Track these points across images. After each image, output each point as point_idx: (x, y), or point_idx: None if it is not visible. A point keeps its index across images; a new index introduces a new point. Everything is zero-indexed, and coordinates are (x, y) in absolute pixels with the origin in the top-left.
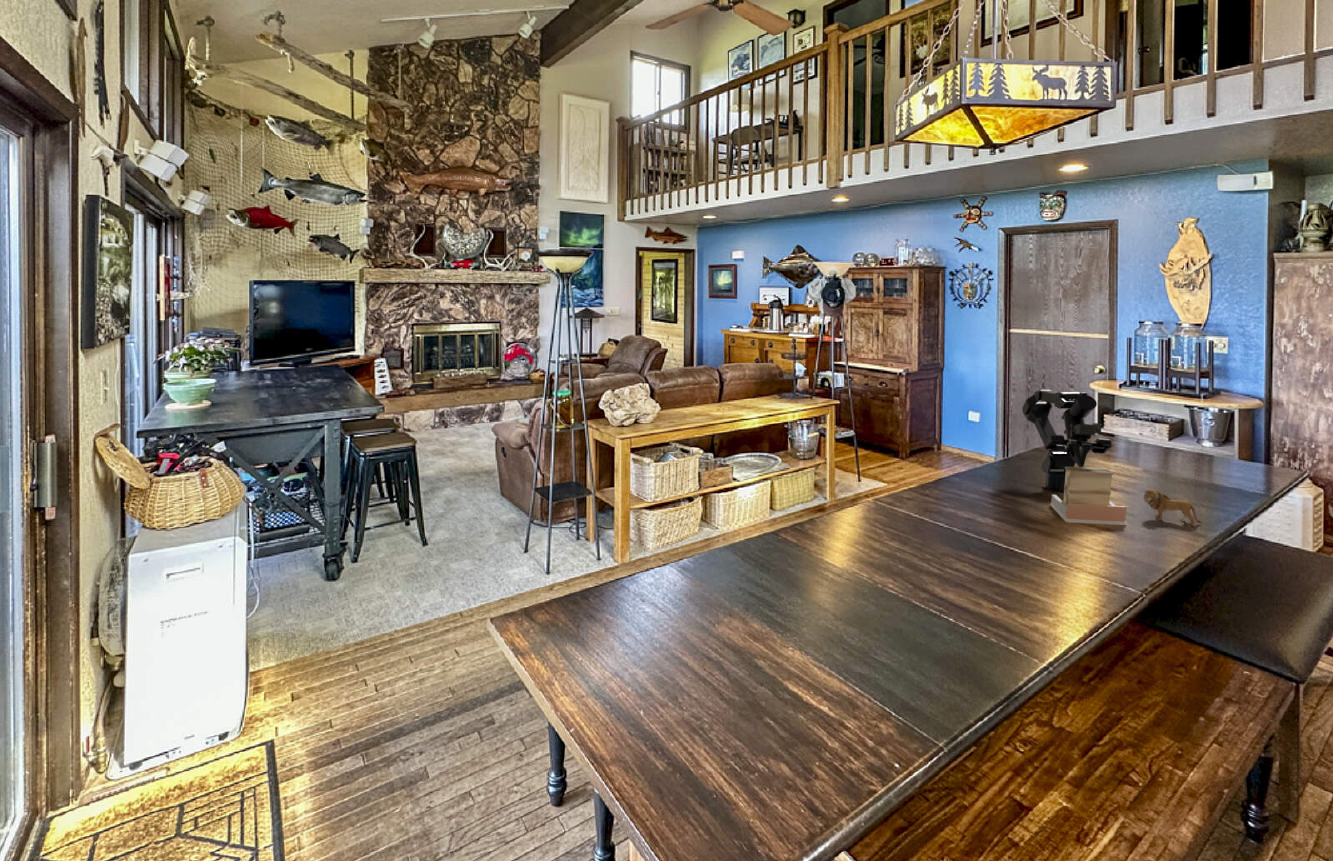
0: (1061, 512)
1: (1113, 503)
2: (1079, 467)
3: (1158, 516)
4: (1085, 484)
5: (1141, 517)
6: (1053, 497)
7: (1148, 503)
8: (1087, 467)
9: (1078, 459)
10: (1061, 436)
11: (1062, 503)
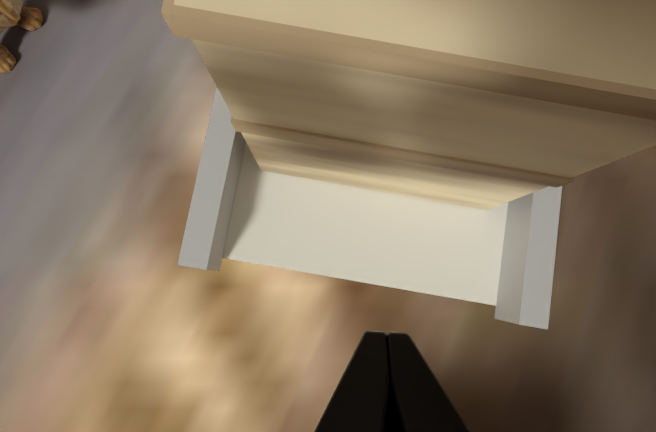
0: None
1: (216, 87)
2: (562, 56)
3: (5, 48)
4: None
5: (102, 57)
6: (547, 280)
7: None
8: (437, 51)
9: (466, 427)
10: None
11: None
